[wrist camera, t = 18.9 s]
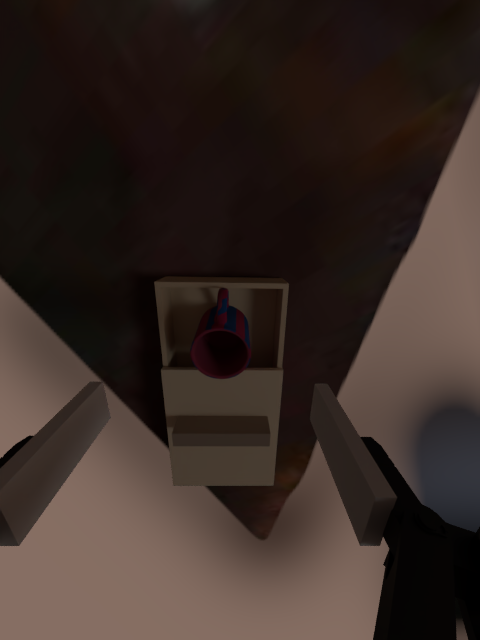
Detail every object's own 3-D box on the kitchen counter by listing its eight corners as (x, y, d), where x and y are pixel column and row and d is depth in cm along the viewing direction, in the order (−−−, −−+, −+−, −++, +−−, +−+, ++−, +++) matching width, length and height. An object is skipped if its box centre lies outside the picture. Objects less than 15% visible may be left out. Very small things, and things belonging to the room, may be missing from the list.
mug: (197, 344, 32) (187, 375, 26) (204, 276, 28) (195, 293, 22) (244, 351, 33) (245, 382, 27) (257, 284, 29) (262, 303, 23)
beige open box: (166, 276, 30) (154, 281, 26) (281, 277, 30) (288, 283, 26) (177, 403, 36) (169, 424, 32) (272, 403, 37) (277, 424, 32)
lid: (162, 367, 29) (152, 383, 25) (282, 368, 29) (288, 384, 26) (174, 481, 35) (167, 507, 32) (272, 481, 35) (276, 506, 32)
